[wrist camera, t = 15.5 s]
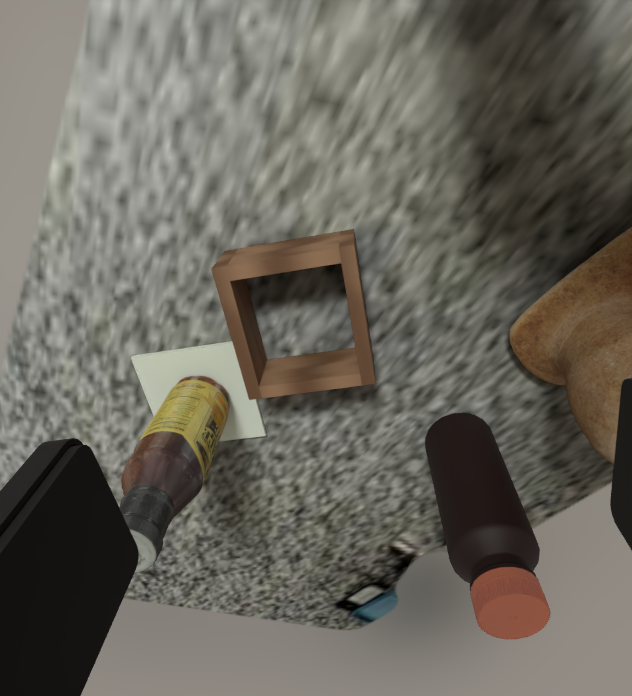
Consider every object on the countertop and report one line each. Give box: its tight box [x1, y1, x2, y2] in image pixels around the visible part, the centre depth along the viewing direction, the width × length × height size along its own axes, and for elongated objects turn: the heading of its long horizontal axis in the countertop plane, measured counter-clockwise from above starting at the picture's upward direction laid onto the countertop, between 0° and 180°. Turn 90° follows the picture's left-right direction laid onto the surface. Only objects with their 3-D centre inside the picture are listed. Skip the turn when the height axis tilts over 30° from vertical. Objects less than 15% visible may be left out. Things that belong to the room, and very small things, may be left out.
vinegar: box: [425, 413, 550, 639], centre depth 44 cm, size 7×7×20 cm
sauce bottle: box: [119, 375, 230, 573], centre depth 43 cm, size 7×6×20 cm
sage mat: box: [131, 341, 266, 441], centre depth 52 cm, size 11×11×1 cm
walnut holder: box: [212, 229, 376, 400], centre depth 45 cm, size 11×12×5 cm
